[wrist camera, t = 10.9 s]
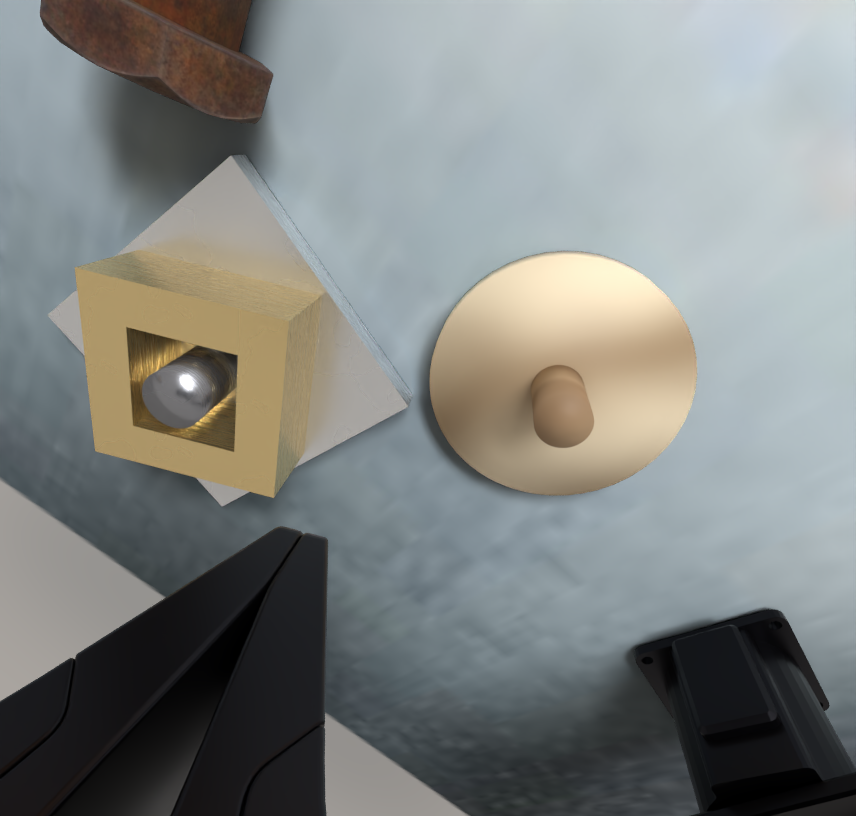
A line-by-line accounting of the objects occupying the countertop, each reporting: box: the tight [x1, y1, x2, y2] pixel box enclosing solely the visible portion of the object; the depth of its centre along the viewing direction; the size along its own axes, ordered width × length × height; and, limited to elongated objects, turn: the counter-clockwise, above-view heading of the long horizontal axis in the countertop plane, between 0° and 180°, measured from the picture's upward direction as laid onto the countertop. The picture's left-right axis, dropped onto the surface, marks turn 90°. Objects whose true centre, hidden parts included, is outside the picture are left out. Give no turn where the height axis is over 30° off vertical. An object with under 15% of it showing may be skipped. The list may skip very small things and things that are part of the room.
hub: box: [48, 155, 413, 506], centre depth 19 cm, size 10×10×4 cm
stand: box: [430, 251, 697, 495], centre depth 18 cm, size 9×9×4 cm
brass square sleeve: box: [75, 250, 322, 498], centre depth 18 cm, size 7×7×3 cm
